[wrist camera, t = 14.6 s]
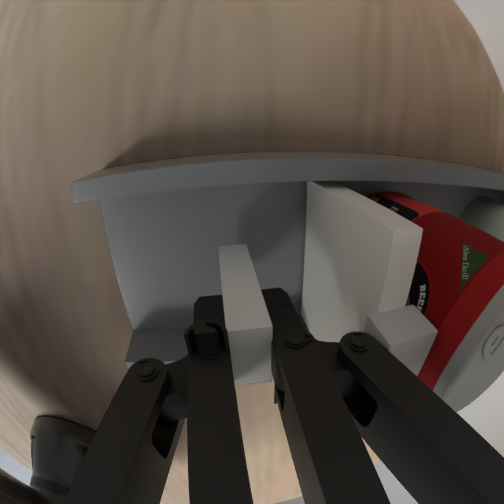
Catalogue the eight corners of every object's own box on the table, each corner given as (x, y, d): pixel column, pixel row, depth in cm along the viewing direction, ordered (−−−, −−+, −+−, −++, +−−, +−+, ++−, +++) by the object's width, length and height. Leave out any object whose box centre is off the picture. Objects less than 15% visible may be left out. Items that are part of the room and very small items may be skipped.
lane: (139, 332, 19) (122, 410, 12) (101, 169, 14) (36, 200, 8) (480, 278, 22) (521, 312, 16) (502, 172, 18) (556, 194, 11)
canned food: (347, 171, 15) (524, 252, 5) (432, 206, 17) (556, 276, 7) (306, 291, 17) (401, 438, 8) (394, 299, 20) (485, 396, 10)
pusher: (295, 314, 18) (349, 439, 10) (300, 179, 14) (416, 255, 6) (323, 310, 18) (388, 425, 10) (334, 178, 15) (465, 248, 6)
